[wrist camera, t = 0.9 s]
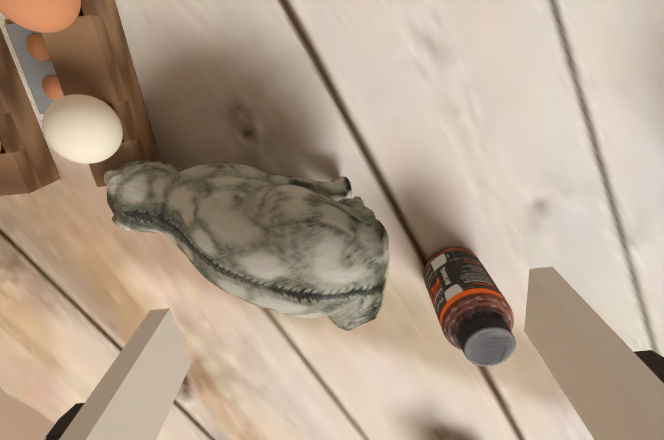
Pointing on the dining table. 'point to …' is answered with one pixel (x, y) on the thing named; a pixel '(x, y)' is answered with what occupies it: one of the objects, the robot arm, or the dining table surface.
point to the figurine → (263, 235)
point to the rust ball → (41, 13)
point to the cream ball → (82, 128)
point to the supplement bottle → (470, 307)
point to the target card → (35, 65)
